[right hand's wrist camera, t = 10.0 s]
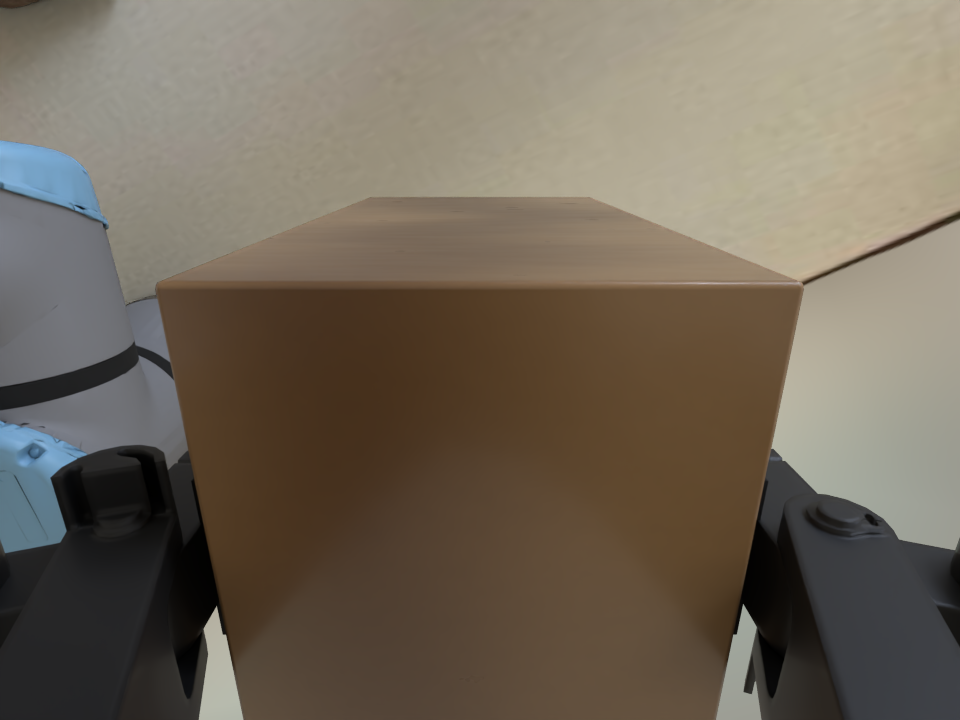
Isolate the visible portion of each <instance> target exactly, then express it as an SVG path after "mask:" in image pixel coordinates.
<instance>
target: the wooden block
mask: <svg viewBox="0 0 960 720" xmlns="http://www.w3.org/2000/svg"><path fill="white" fill-rule="evenodd" d="M155 290H156V295H157V300H158V305H159V309H160V314H161V319H162V324H163V329H164V334H165V339H166V344H167V348H168V353H169V358H170V363H171V368H172V373H173V378H174V383H175V387H176V392H177V397H178V402H179V407H180V412H181V417H182V422H183V427H184V431H185V436H186V441H187V446H188V451H189V456H190V461H191V466H192V470H193V475H194V480H195V485H196V490H197V495H198V500H199V505H200V509H201V514H202V519H203V524H204V529H205V534H206V539H207V544H208V548H209V553H210V558H211V563H212V568H213V573H214V578H215V583H216V587H217V592H218V597H219V602H220V607H221V612H222V617H223V622H224V627H225V631H226V636H227V641H228V646H229V651H230V656H231V661H232V666H233V670H234V675H235V680H236V685H237V690H238V695H239V699H240V704H241V709H242V714H243V719H244V720H716V716H717V711H718V706H719V701H720V696H721V692H722V687H723V682H724V677H725V672H726V667H727V662H728V657H729V652H730V648H731V643H732V638H733V633H734V628H735V623H736V618H737V613H738V608H739V604H740V599H741V594H742V589H743V584H744V579H745V574H746V569H747V564H748V559H749V555H750V550H751V545H752V540H753V535H754V530H755V525H756V520H757V515H758V511H759V506H760V501H761V496H762V491H763V486H764V481H765V476H766V471H767V467H768V462H769V457H770V452H771V447H772V442H773V437H774V432H775V427H776V422H777V417H778V413H779V408H780V403H781V398H782V393H783V388H784V383H785V378H786V373H787V369H788V364H789V359H790V354H791V349H792V344H793V339H794V334H795V330H796V324H797V320H798V315H799V310H800V305H801V300H802V295H803V290H804V288H803V284H802V283H801V282H799V281H797V280H794V279H792V278H789V277H787V276H784V275H782V274H780V273H777V272H775V271H772V270H770V269H767V268H765V267H762V266H760V265H757V264H755V263H752V262H750V261H747V260H745V259H742V258H740V257H737V256H735V255H732V254H730V253H727V252H725V251H722V250H720V249H717V248H715V247H712V246H710V245H707V244H705V243H702V242H700V241H697V240H695V239H692V238H690V237H687V236H685V235H682V234H680V233H677V232H675V231H672V230H670V229H667V228H665V227H662V226H660V225H657V224H655V223H652V222H650V221H647V220H645V219H642V218H640V217H637V216H635V215H632V214H630V213H628V212H625V211H623V210H620V209H618V208H615V207H613V206H610V205H608V204H605V203H603V202H600V201H598V200H595V199H593V198H590V197H370V198H367V199H365V200H362V201H360V202H357V203H355V204H352V205H350V206H347V207H345V208H342V209H340V210H337V211H335V212H332V213H330V214H327V215H325V216H322V217H320V218H317V219H315V220H312V221H310V222H307V223H305V224H302V225H300V226H297V227H295V228H292V229H290V230H287V231H285V232H282V233H280V234H277V235H275V236H272V237H270V238H267V239H265V240H262V241H260V242H257V243H255V244H252V245H250V246H247V247H245V248H242V249H240V250H237V251H235V252H232V253H230V254H227V255H225V256H222V257H220V258H217V259H215V260H212V261H210V262H207V263H205V264H202V265H200V266H197V267H195V268H192V269H190V270H187V271H185V272H182V273H180V274H177V275H175V276H172V277H170V278H167V279H165V280H162V281H160V282H158V283H157V284H156V289H155Z"/></svg>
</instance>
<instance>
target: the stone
mask: <svg viewBox="0 0 960 720" xmlns="http://www.w3.org/2000/svg"><path fill="white" fill-rule="evenodd" d="M38 1H39V0H0V7H6V8H15V7H20V6H25V5H28V4H30V3H34V2H38Z"/></svg>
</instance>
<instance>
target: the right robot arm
mask: <svg viewBox="0 0 960 720" xmlns="http://www.w3.org/2000/svg"><path fill="white" fill-rule="evenodd" d="M108 228H109V225H108V222H107V219H106V218H105V217H104V216H103V215H102V214H101V211H100V207H99V204H98V201H97V198H96V195H95V192H94V188H93V185H92V182H91V179H90V176H89V175H88V173H87V171H86V170H85V169H84V167H83V166H82V165H81V164H79V163H78V162H77V161H76V160H75V159H73V158H72V157H70V156H68V155H66V154H64V153H62V152H59V151H56V150H53V149H49V148H44V147H40V146H34V145H28V144H22V143H15V142H8V141H0V720H199V713H200V706H201V699H202V692H203V685H204V678H205V671H206V664H207V657H208V651H207V644H206V639H205V634H204V630H203V629H204V627H205V625H206V623H207V622H208V620H209V618H210V616H211V615H212V613H213V611H214V610H215V608H216V606H217V608H218V613H219V618H220V623H221V628H222V632H223V634H224V635H226V631H225V627H224V622H223V617H222V612H221V607H220V602H219V597H218V592H217V587H216V583H215V578H214V573H213V568H212V563H211V558H210V553H209V548H208V544H207V539H206V534H205V529H204V524H203V519H202V514H201V509H200V505H199V500H198V495H197V490H196V485H195V480H194V475H193V470H192V466H191V461H190V456H189V451H188V446H187V441H186V436H185V431H184V427H183V422H182V417H181V412H180V407H179V402H178V397H177V392H176V387H175V383H174V378H173V373H172V368H171V363H170V358H169V353H168V348H167V344H166V339H165V334H164V329H163V324H162V319H161V314H160V309H159V305H158V300H157V295H155V296H149V297H145V298H142V299H139V300H137V301H134V302H132V303H130V304H127V305H125V301H124V297H123V294H122V290H121V286H120V282H119V278H118V275H117V271H116V267H115V263H114V259H113V256H112V252H111V248H110V244H109V241H108V237H107V233H106V229H108ZM743 604H744V606H745V607H746V609H747V611H748V612H749V614H750V616H751V618H752V619H753V621H754V623H755V624H756V626H757V630H756V634H755V639H754V643H753V648H752V652H751V657H750V661H749V666H748V670H747V675H746V679H745V686H744V692H746V693H749V694H752V691H753V686H754V682H755V681H756V684H757V691H758V698H759V705H760V711H761V718H762V720H960V539H959V541H958V544H957V547H956V550H950V549H945V548H939V547H934V546H929V545H923V544H918V543H912V542H907V541H903V540H899V539H898V537H897V536H896V534H895V532H894V530H893V529H892V528H891V527H890V526H889V525H888V524H887V523H886V521H885V520H884V519H883V518H881V517H880V516H878V515H877V514H875V513H873V512H872V511H870V510H869V509H867V508H865V507H863V506H861V505H858V504H856V503H853V502H851V501H849V500H846V499H842V498H838V497H834V496H830V495H824V494H817V493H816V492H815V491H814V490H813V489H812V488H811V487H810V486H809V485H808V484H807V483H806V482H805V481H804V480H803V479H802V478H801V477H800V476H799V475H798V473H796V471H795V470H794V469H793V468H791V466H790V465H789V464H788V463H787V462H785V461H782V457H781V456H780V455H779V454H778V453H777V452H776V451H775V450H774V449H771V452H770V457H769V462H768V467H767V471H766V476H765V481H764V486H763V491H762V496H761V501H760V506H759V511H758V515H757V520H756V525H755V530H754V535H753V540H752V545H751V550H750V555H749V559H748V564H747V569H746V574H745V579H744V584H743V589H742V594H741V599H740V604H739V608H738V613H737V618H736V623H735V628H734V633H733V634H737V630H738V626H739V621H740V616H741V611H742V606H743Z"/></svg>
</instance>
